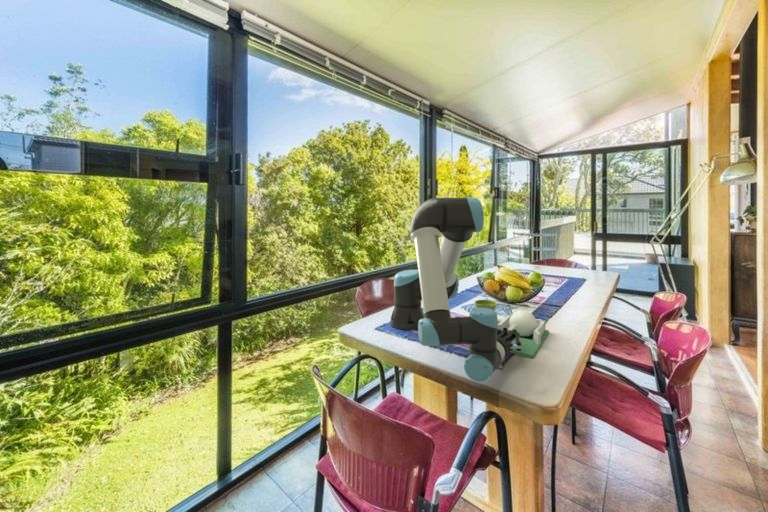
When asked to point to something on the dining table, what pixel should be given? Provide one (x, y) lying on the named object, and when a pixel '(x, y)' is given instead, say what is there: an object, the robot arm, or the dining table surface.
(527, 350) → the green tray
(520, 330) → the ball
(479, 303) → the plant pot
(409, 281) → the robot arm
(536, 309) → the dining table surface
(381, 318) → the dining table surface
